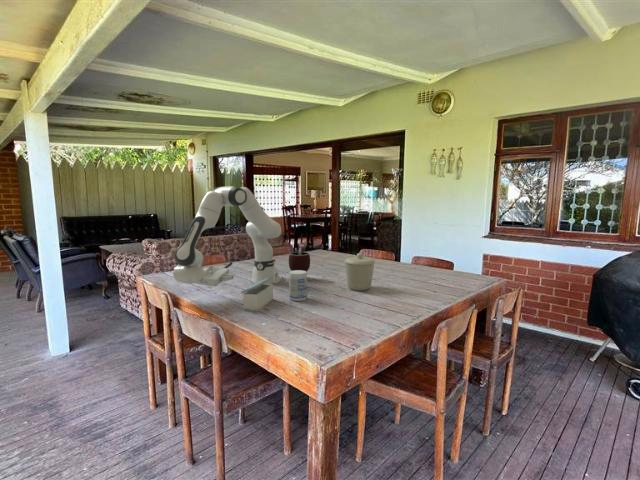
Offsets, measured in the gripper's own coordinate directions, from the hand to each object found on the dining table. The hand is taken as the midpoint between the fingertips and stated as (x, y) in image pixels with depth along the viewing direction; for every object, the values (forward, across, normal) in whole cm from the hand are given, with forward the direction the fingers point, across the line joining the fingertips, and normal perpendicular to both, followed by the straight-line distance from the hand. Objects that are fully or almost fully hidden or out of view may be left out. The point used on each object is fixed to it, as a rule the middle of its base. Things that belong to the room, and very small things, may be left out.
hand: (232, 277), depth 183 cm
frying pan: (-27, +57, +18) cm, 66 cm away
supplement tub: (+33, +8, +13) cm, 36 cm away
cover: (+13, -1, +3) cm, 14 cm away
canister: (+66, +31, +12) cm, 74 cm away
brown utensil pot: (+28, +51, +15) cm, 61 cm away
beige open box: (+14, -2, +13) cm, 19 cm away
